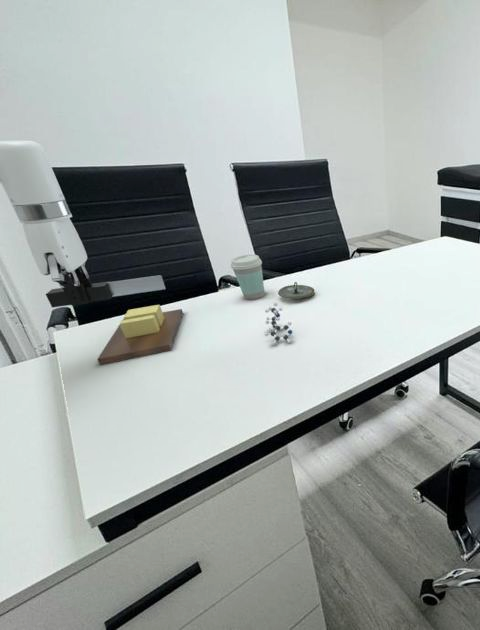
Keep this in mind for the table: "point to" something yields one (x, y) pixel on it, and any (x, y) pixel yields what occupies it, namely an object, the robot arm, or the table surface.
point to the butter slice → (139, 326)
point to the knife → (109, 289)
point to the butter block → (146, 313)
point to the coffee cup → (249, 275)
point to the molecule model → (277, 325)
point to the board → (142, 341)
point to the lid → (296, 291)
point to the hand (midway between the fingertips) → (83, 299)
